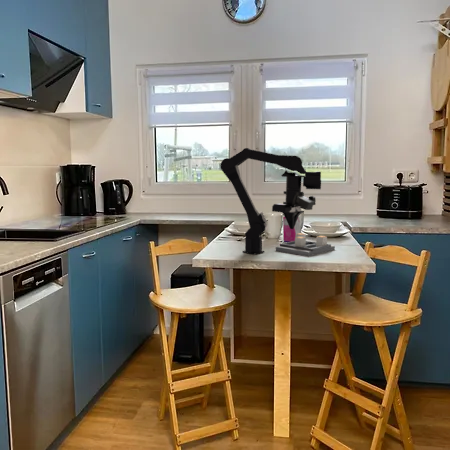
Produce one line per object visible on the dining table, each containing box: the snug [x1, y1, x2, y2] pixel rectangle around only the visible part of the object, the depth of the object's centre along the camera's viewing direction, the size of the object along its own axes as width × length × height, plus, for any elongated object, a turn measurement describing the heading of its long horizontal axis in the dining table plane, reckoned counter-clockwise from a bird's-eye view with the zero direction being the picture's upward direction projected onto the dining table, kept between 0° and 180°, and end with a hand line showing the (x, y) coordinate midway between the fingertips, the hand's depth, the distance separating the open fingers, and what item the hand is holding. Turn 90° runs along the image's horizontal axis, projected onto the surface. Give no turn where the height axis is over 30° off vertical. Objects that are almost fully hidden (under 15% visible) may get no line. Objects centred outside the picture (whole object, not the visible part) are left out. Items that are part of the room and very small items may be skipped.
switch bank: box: [275, 240, 336, 257], centre depth 185 cm, size 18×16×2 cm
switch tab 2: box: [295, 237, 307, 247], centre depth 182 cm, size 3×3×4 cm
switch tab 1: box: [295, 232, 307, 238], centre depth 191 cm, size 3×3×4 cm
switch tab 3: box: [315, 235, 328, 247], centre depth 184 cm, size 3×3×4 cm
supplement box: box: [282, 215, 301, 243], centre depth 204 cm, size 6×6×12 cm
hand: (291, 229), depth 177 cm, fingers closed
